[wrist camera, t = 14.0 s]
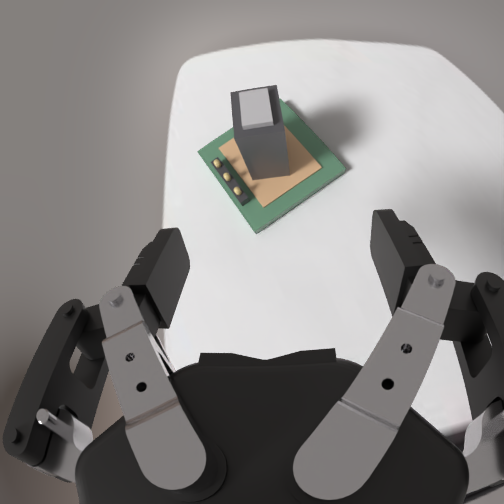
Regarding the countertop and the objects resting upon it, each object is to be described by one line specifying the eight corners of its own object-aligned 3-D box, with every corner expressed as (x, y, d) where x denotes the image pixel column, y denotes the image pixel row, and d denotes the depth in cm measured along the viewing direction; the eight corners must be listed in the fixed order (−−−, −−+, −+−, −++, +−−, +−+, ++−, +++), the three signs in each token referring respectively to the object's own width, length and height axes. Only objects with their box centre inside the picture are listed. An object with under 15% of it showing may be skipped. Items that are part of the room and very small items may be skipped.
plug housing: (283, 135, 31) (275, 80, 21) (290, 175, 30) (284, 127, 20) (248, 140, 31) (229, 88, 22) (252, 180, 30) (232, 135, 21)
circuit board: (280, 104, 33) (278, 87, 30) (344, 172, 30) (348, 159, 27) (200, 156, 34) (191, 142, 30) (256, 234, 31) (250, 226, 28)
